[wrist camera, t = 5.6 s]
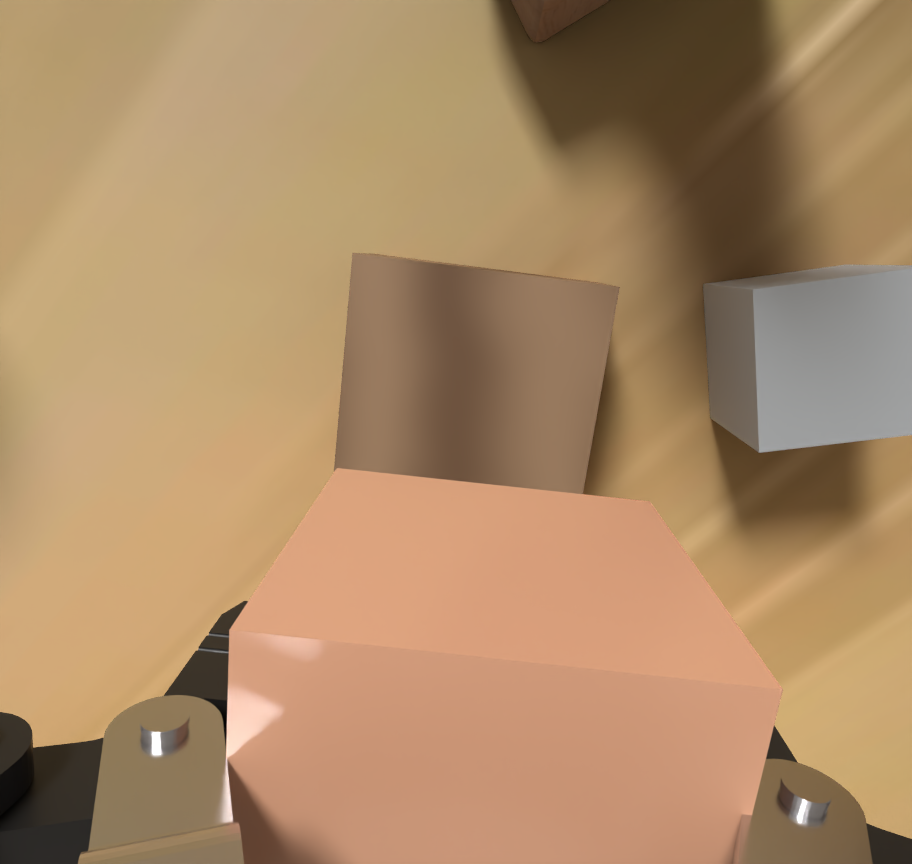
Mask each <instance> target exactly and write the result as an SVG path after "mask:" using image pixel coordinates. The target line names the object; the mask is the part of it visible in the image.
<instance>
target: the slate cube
mask: <svg viewBox="0 0 912 864" xmlns="http://www.w3.org/2000/svg"><path fill="white" fill-rule="evenodd" d="M703 293H704V312H705V331H706V349H707V368H708V387H709V405H710V418H711V419H712V420H714V421H715V422H716V423H718V424H719V425H721V426H722V427H724V428H725V429H726V430H728V431H729V432H731V433H732V434H733V435H735V436H736V437H738V438H739V439H740V440H742V441H743V442H745V443H746V444H747V445H749V446H750V447H752V448H753V449H755V450H756V451H757V452H759V453H762V452H770V451H779V450H787V449H796V448H804V447H813V446H821V445H830V444H839V443H847V442H856V441H864V440H873V439H881V438H890V437H898V436H907V435H912V266H903V265H840V266H833V267H825V268H818V269H810V270H803V271H796V272H788V273H781V274H773V275H766V276H759V277H751V278H744V279H736V280H729V281H722V282H714V283H707V284H703Z"/></svg>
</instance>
